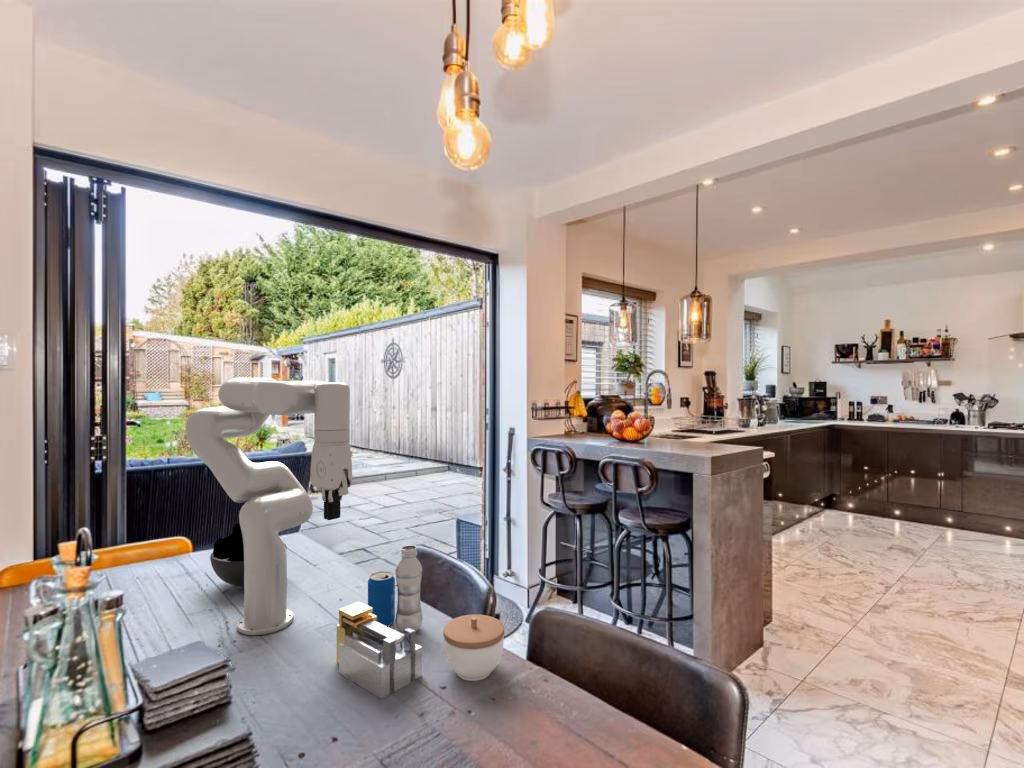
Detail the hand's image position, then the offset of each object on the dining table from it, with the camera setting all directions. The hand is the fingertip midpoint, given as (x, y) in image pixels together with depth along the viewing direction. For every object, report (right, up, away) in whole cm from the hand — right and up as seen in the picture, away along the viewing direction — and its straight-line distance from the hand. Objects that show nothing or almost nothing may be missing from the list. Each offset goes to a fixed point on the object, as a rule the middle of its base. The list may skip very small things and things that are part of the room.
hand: (332, 518), depth 118 cm
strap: (+12, -21, -10) cm, 26 cm away
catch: (+6, -29, -5) cm, 30 cm away
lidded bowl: (+33, -30, -9) cm, 45 cm away
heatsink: (+14, -29, -11) cm, 34 cm away
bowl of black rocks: (-36, -29, +36) cm, 59 cm away
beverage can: (+8, -29, +12) cm, 32 cm away
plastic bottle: (+16, -29, +8) cm, 34 cm away
